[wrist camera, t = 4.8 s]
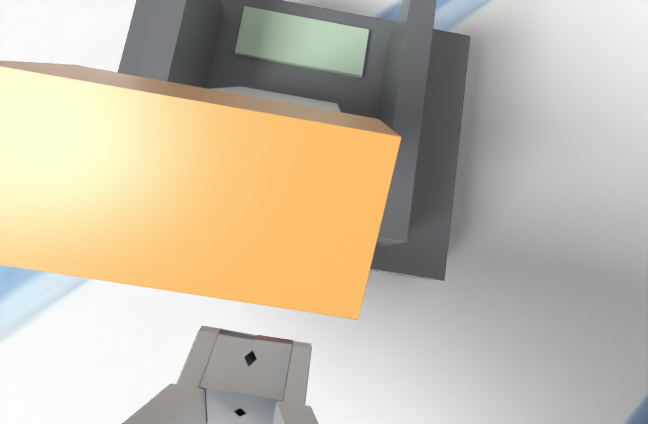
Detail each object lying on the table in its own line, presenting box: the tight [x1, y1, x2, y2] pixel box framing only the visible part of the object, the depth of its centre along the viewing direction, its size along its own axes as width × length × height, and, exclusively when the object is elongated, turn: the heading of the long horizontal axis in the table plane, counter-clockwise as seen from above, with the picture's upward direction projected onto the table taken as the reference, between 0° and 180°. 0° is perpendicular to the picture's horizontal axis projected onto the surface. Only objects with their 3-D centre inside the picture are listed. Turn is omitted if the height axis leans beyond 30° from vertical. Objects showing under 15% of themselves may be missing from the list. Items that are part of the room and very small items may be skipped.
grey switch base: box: [118, 0, 470, 281], centre depth 17 cm, size 12×16×8 cm
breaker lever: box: [0, 61, 401, 320], centre depth 11 cm, size 2×5×13 cm, turn 80°
